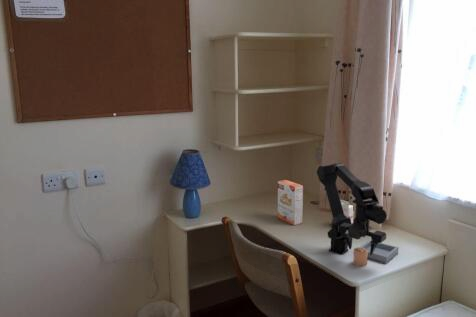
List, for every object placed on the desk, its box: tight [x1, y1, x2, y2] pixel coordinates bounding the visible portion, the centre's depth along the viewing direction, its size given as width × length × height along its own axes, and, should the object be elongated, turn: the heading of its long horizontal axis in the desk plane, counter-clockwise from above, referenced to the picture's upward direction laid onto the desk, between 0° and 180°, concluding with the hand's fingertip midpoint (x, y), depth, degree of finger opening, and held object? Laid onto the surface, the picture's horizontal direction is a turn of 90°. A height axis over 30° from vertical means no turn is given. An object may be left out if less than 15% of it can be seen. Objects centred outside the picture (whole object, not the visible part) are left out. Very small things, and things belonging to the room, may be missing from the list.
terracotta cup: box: [352, 246, 368, 268], centre depth 180 cm, size 6×6×6 cm
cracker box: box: [277, 179, 304, 226], centre depth 229 cm, size 14×6×21 cm, turn 33°
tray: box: [360, 239, 400, 265], centre depth 189 cm, size 13×13×3 cm
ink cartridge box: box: [340, 199, 354, 224], centre depth 220 cm, size 9×5×15 cm, turn 45°
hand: (360, 251), depth 180 cm, fingers open, 9 cm apart
